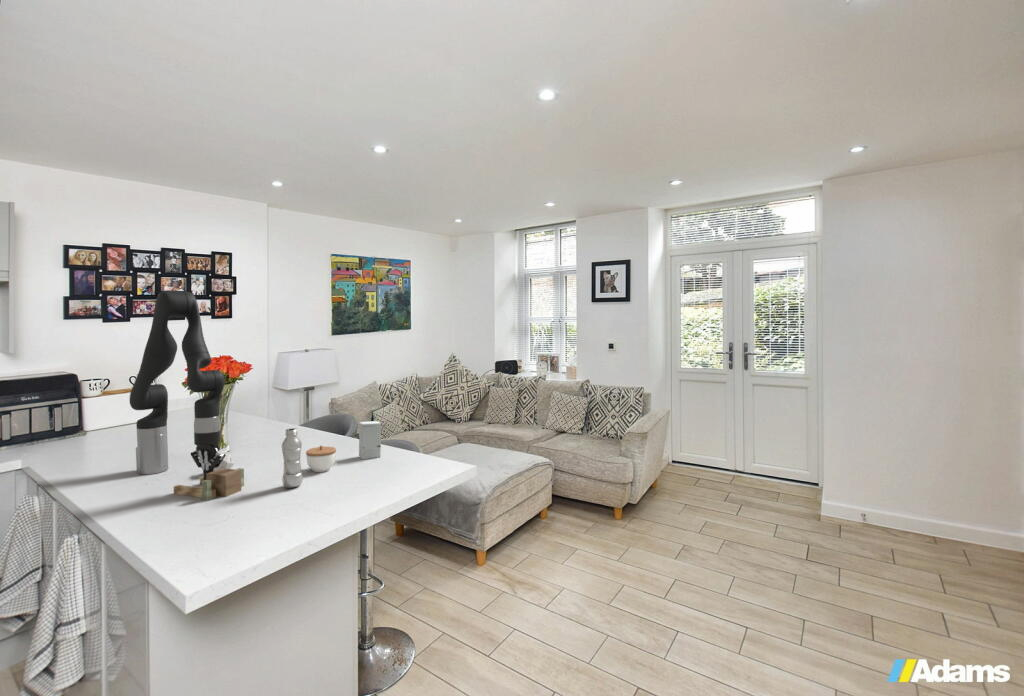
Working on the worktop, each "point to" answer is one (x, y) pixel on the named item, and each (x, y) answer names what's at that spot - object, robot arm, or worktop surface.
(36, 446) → the worktop surface
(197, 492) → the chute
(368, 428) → the skincare box
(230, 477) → the block
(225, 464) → the die
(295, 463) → the plastic bottle
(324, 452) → the lidded jar
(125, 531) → the worktop surface
